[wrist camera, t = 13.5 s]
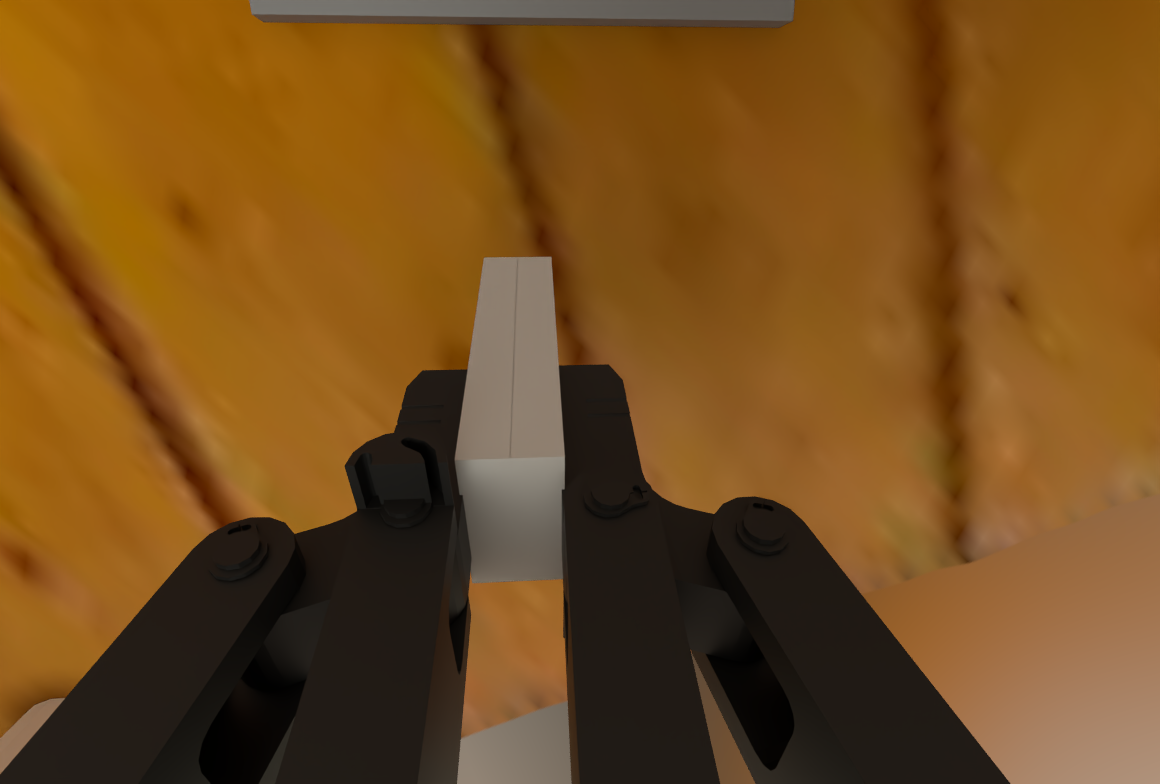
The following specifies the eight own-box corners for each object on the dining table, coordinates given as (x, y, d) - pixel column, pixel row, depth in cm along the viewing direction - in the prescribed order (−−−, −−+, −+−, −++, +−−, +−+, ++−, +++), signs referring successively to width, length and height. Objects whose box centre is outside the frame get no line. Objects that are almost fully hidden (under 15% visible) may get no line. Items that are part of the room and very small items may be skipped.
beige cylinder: (153, 736, 40) (90, 845, 34) (69, 785, 40) (-11, 903, 34) (71, 672, 37) (-15, 777, 31) (-19, 725, 38) (-123, 840, 31)
